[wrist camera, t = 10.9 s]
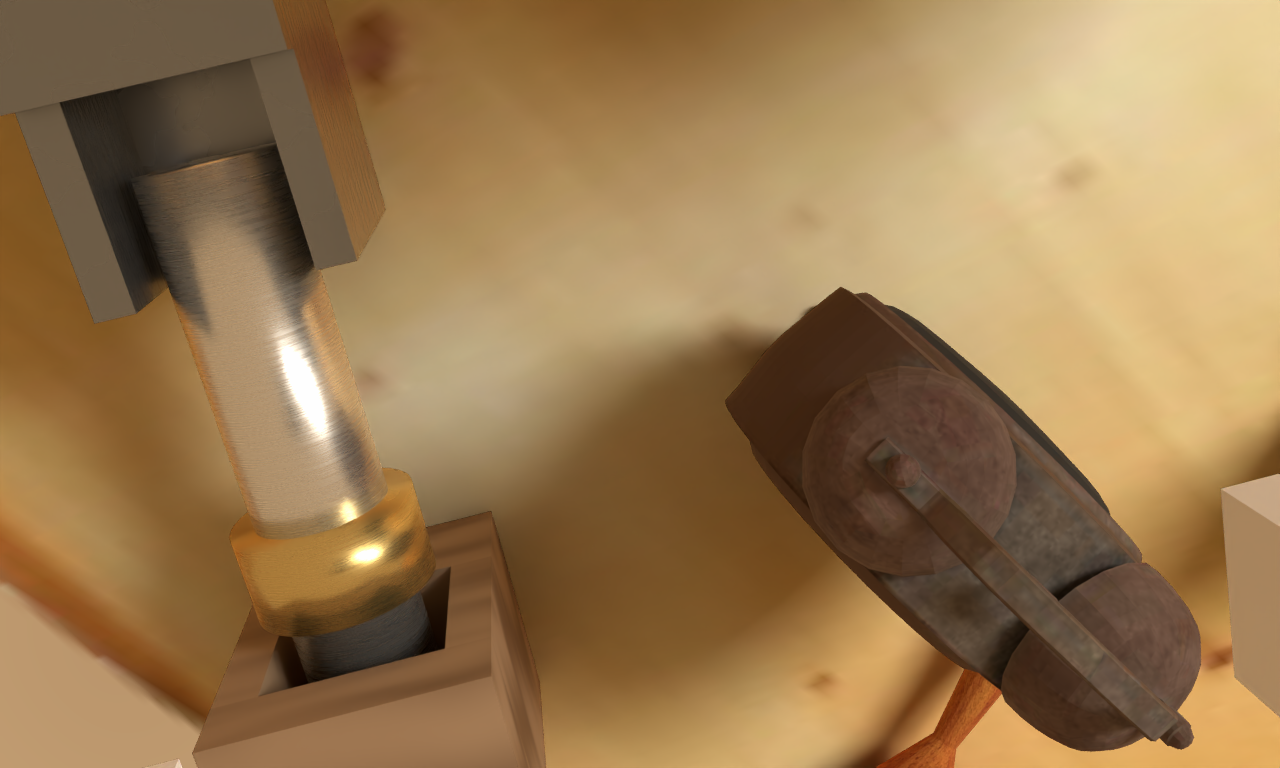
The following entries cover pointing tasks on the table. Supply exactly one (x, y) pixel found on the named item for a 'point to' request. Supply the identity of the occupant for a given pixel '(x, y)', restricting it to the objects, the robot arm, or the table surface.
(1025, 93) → the table surface
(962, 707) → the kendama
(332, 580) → the tube
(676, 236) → the table surface
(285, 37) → the square shaft housing
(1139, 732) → the alarm clock
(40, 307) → the table surface
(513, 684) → the socket block
